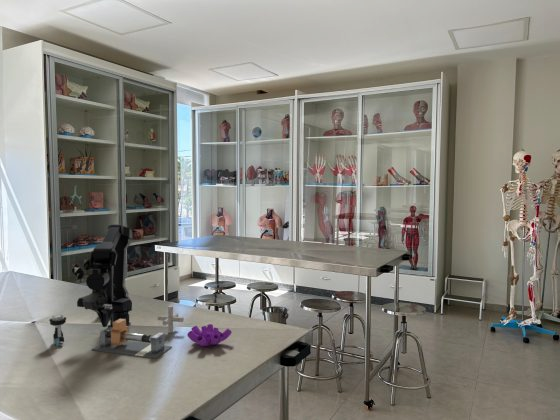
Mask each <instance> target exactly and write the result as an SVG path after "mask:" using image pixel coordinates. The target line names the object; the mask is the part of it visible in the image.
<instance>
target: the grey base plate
mask: <svg viewBox="0 0 560 420" xmlns="http://www.w3.org/2000/svg"><path fill="white" fill-rule="evenodd" d="M172 348H173V346H171V345H165V344H164V349H163V350H162V351H160V352H159V353H157V354H152V353H151V343H146V342H139V341H131V340H128V341H126V342H125V343H123V344H121V345H119V346H116V345H111V344H110V345H109V346H107V347H100V344H98V345H96V346H95V347H94V346H93V348H91V351H96V352H103V353H111V354H118V355H127V356H133V357H141V358H148V359H155V360H156V359H158V358H159V357H161V356H162V355H164V354H165V353H167V352H168V351H169V350H171V349H172Z"/></svg>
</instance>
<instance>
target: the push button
mask: <svg viewBox="0 0 560 420" xmlns="http://www.w3.org/2000/svg"><path fill="white" fill-rule="evenodd" d="M48 321H49V323H50V325H51V326H53V327H54V333H53V335H52V336H53V337H52V338H53V339H52V340H53V343H52V344H53V346H55V345H56V346H57V347H60V346H61V347H62V346H64V342H65V337H64V333H63V331H62V326H63V325H64V324H66V321H67V317H65V316H64V315H63V314H55V315H53V316H52V317H51V318H50V319H49V320H48Z"/></svg>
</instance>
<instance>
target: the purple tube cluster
mask: <svg viewBox="0 0 560 420" xmlns="http://www.w3.org/2000/svg"><path fill="white" fill-rule="evenodd" d="M231 334H232V331H231V329H229V328H226V329H225V330H224V331H222V332H221V331H220V330H219V327H215V326H214V325H213V323H211V324H210V323H208V324H207V325H203V326H201V328H200V327H198V325H194V326H193V327H191V330H190V331H189V332H187V333H186V335H187V338H188V339H189V340H190V341H192V342H194V343H195V344H199V346H201V347H209V346H215V345H218V344H219V343H221V342H224V341H225V340H226V339H228V338H229V337H230V336H231Z"/></svg>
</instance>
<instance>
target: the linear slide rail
mask: <svg viewBox="0 0 560 420" xmlns="http://www.w3.org/2000/svg"><path fill="white" fill-rule="evenodd" d="M112 329H113V327H108V326H107V327H105V329H101V330H100V332H99V342H100V343H99V345H100V347H107V346H109V345H110V344H111V330H112ZM120 339H123V340H128V341H132V342H141V343H149V344H151V353H152V354H157V353H159V352H160V351H162V350H163V349H164V345H165V332H158V333H156V334H155V335H152V334H142V333H133V332H128V333H126V332H121V333H120Z"/></svg>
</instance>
